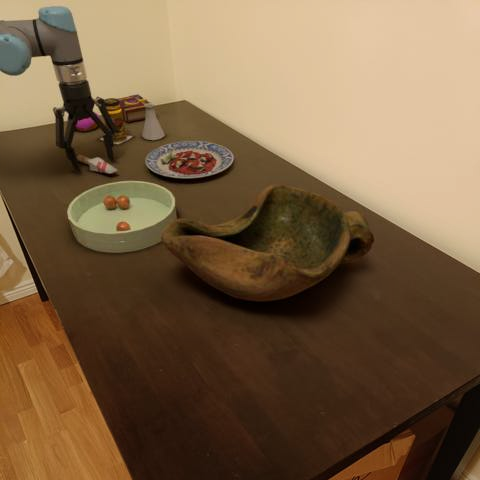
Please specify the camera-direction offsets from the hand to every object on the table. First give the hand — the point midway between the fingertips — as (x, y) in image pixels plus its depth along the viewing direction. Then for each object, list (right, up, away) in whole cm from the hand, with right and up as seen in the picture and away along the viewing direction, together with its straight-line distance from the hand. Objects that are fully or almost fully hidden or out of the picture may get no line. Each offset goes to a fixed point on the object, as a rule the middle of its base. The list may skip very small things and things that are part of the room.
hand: (94, 164), depth 126 cm
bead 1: (+11, -17, -20) cm, 28 cm away
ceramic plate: (+28, 0, +2) cm, 28 cm away
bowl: (+50, -38, -38) cm, 73 cm away
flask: (+14, +16, +18) cm, 27 cm away
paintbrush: (0, -1, 0) cm, 1 cm away
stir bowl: (+15, -22, -22) cm, 35 cm away
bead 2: (+14, -16, -20) cm, 29 cm away
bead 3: (+16, -25, -29) cm, 41 cm away
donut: (-11, +21, +24) cm, 34 cm away
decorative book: (+3, +31, +33) cm, 45 cm away
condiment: (+2, +14, +17) cm, 22 cm away
